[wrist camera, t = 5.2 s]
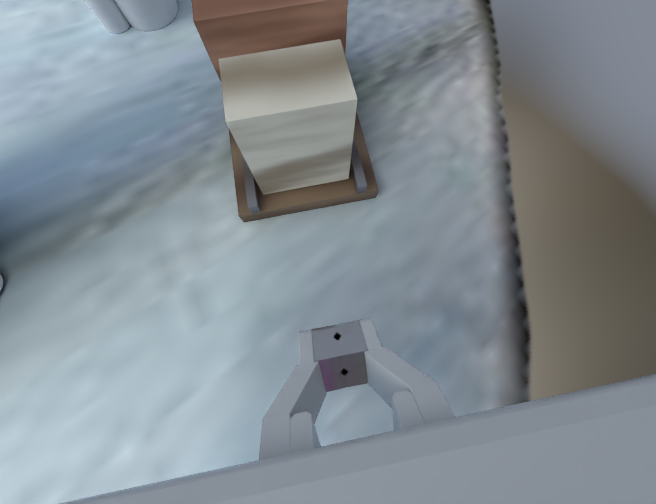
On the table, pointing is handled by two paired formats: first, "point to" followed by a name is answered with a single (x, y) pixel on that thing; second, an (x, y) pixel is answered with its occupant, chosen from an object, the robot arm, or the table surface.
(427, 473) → the robot arm
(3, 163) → the table surface
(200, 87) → the table surface
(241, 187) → the track
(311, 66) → the cream rectangular block
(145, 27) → the vase
